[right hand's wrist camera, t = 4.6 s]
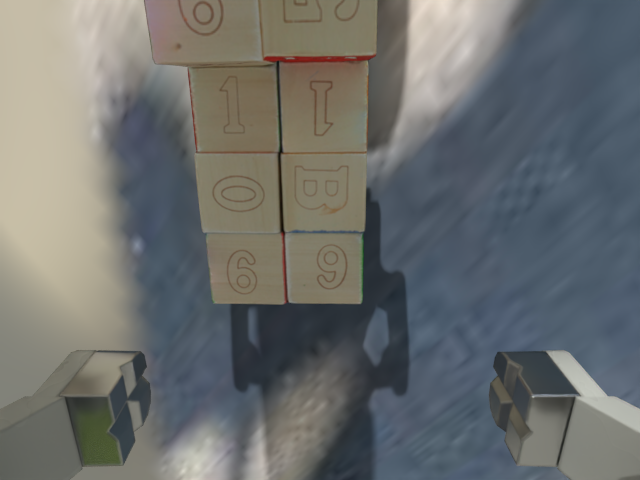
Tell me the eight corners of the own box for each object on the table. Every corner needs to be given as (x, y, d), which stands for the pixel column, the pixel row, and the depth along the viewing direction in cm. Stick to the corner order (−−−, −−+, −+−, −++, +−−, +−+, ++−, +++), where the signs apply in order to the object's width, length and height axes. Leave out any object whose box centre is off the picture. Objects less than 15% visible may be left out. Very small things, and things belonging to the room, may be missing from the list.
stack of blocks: (354, 230, 27) (367, 354, 15) (248, 229, 27) (182, 350, 15) (366, -250, 19) (412, -743, 7) (218, -246, 19) (39, -720, 8)
